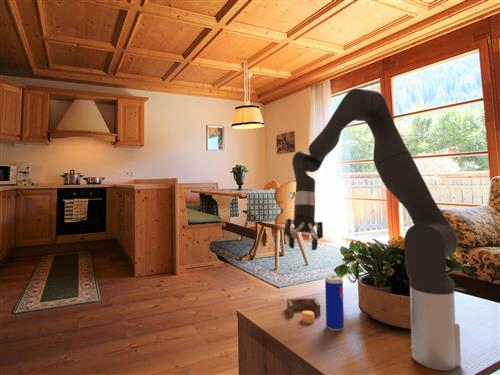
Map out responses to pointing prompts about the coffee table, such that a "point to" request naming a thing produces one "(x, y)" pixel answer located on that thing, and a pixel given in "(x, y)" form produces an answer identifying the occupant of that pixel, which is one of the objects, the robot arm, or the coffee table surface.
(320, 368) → the coffee table surface
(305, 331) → the coffee table surface
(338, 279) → the beverage can
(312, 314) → the orange rounded puck
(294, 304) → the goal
